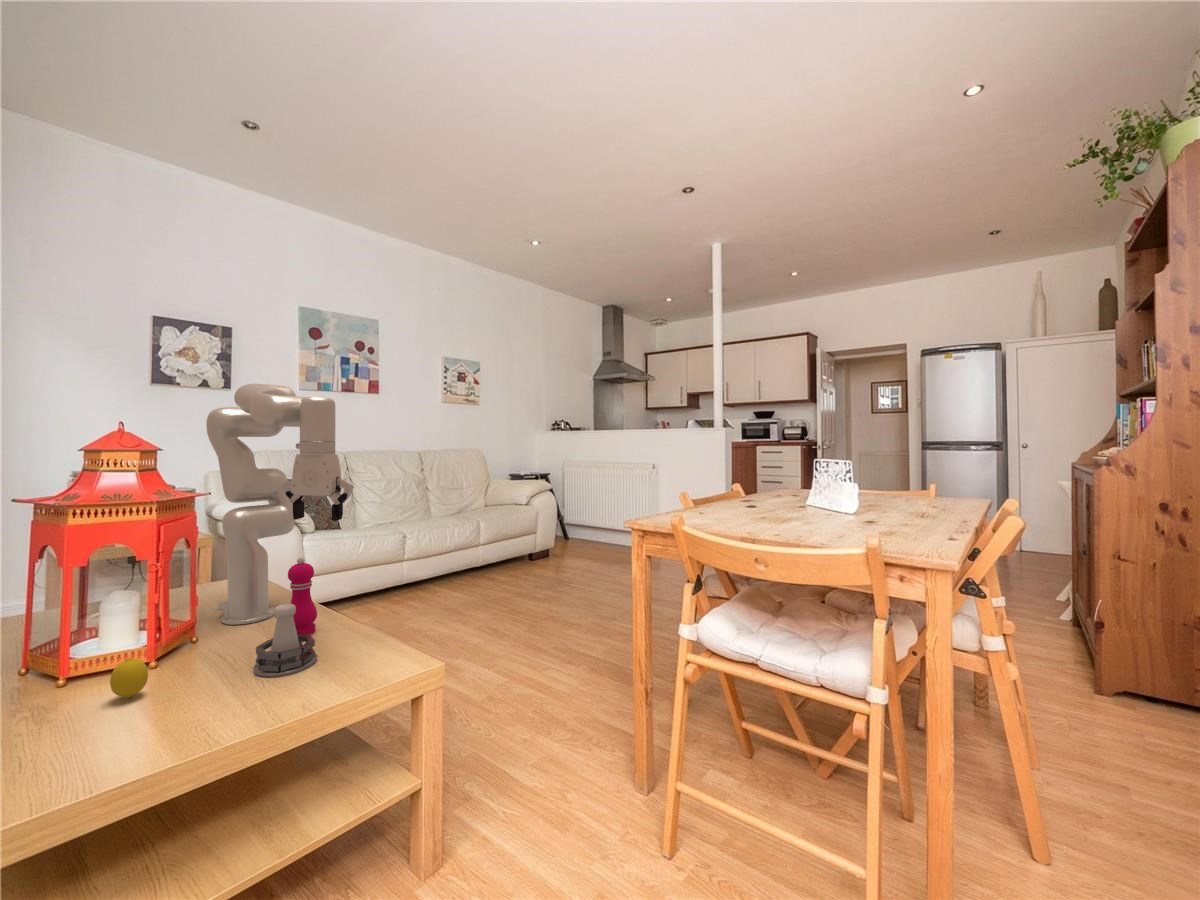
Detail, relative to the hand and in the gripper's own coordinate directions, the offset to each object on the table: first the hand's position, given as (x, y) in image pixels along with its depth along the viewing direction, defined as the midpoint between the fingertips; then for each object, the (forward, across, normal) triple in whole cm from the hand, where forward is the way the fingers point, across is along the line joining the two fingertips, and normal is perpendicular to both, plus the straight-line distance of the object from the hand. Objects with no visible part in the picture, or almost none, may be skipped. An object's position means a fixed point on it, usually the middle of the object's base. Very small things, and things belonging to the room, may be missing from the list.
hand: (317, 519), depth 124 cm
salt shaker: (+31, -2, -9) cm, 33 cm away
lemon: (+32, -22, -26) cm, 47 cm away
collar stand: (+32, -2, -9) cm, 33 cm away
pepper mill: (+32, -10, +9) cm, 35 cm away
